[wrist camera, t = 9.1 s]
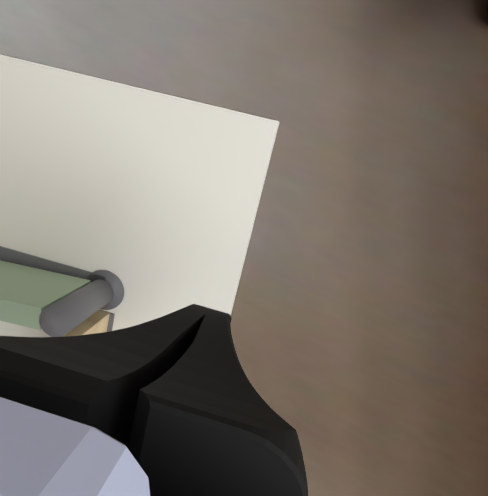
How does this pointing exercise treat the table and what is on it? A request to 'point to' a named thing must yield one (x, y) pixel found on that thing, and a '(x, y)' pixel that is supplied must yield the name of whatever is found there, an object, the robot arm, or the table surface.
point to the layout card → (127, 190)
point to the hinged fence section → (48, 298)
